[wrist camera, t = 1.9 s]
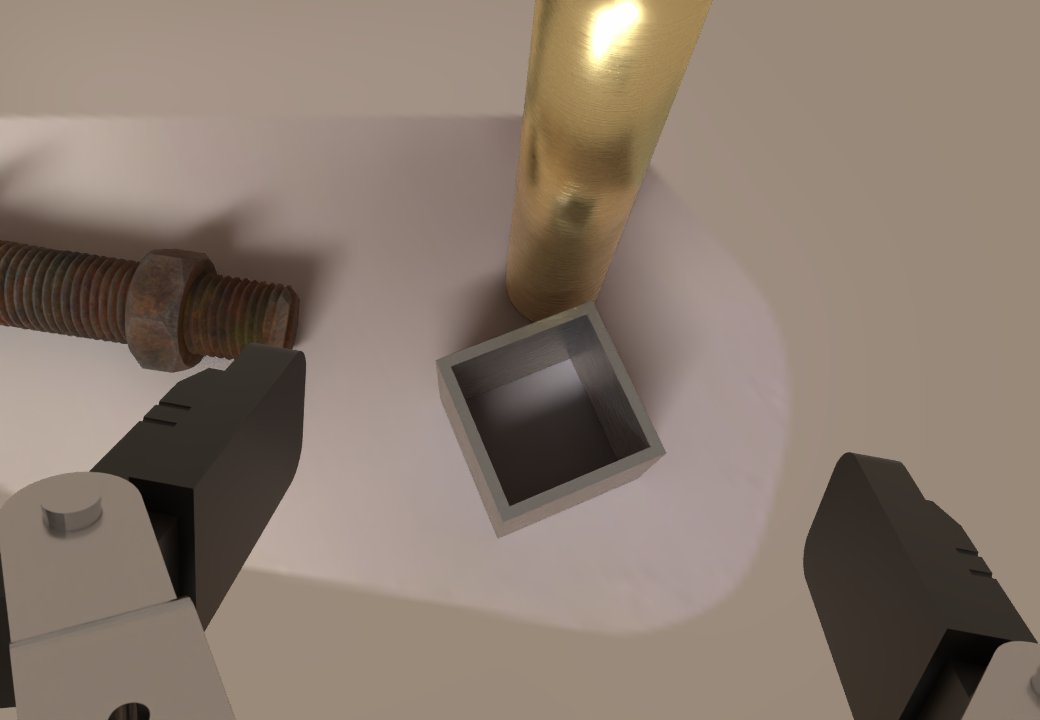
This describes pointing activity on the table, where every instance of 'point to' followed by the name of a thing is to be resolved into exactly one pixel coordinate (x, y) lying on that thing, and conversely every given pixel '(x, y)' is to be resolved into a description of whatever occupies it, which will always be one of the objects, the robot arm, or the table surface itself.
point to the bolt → (144, 303)
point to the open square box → (604, 385)
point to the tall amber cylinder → (589, 138)
